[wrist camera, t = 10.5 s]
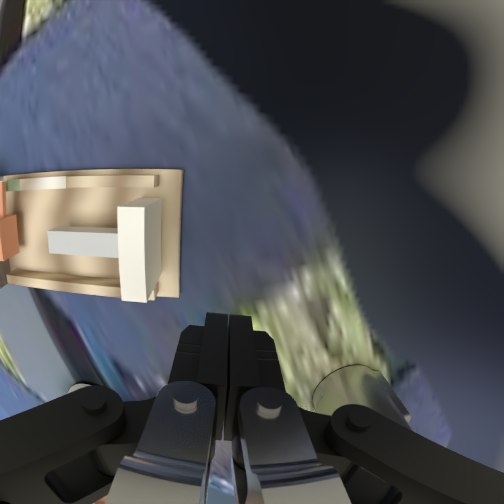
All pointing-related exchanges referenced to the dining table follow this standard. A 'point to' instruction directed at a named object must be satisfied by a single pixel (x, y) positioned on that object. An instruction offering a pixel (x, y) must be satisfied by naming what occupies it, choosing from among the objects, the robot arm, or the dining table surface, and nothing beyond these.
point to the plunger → (121, 245)
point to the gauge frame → (87, 215)
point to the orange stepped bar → (7, 228)
